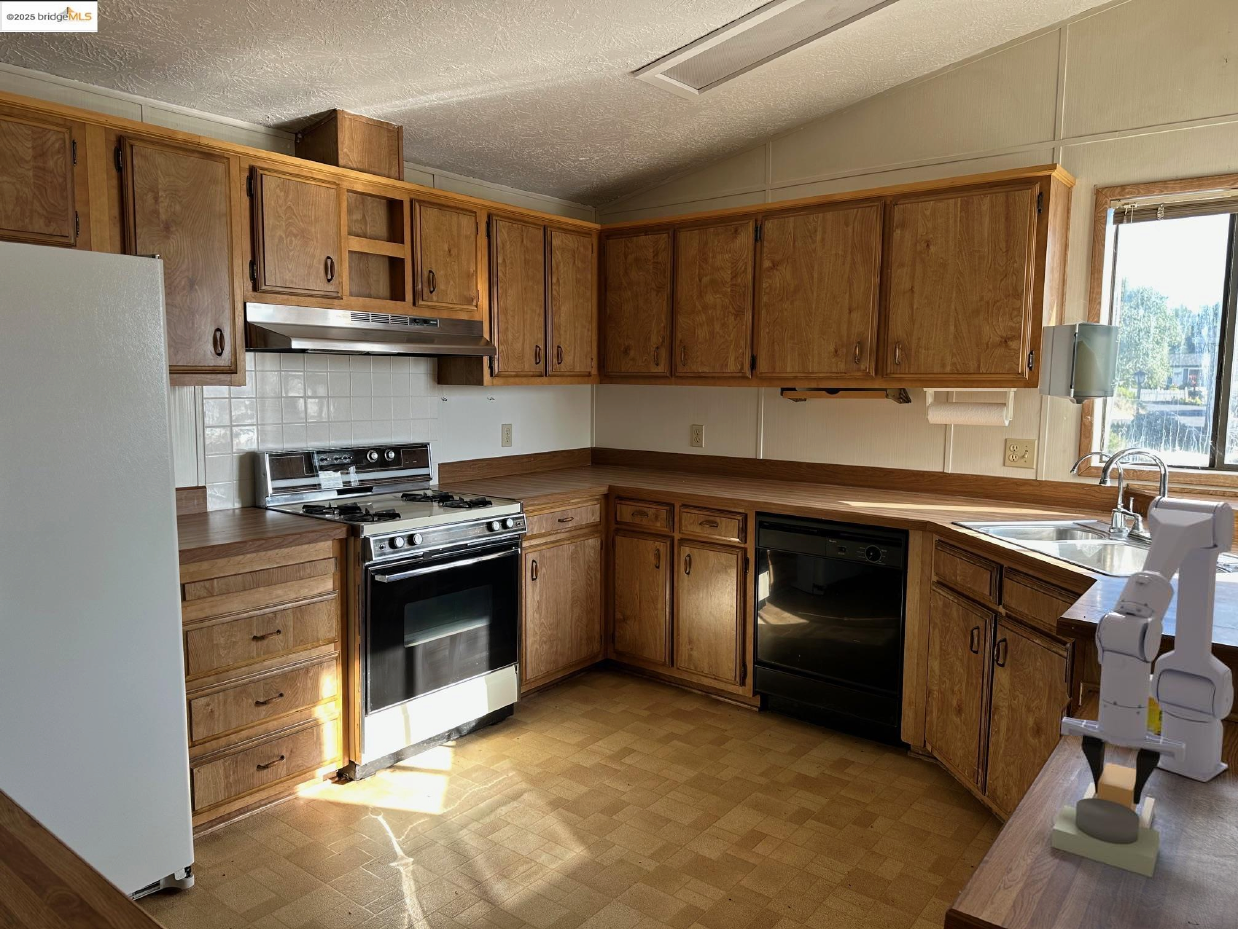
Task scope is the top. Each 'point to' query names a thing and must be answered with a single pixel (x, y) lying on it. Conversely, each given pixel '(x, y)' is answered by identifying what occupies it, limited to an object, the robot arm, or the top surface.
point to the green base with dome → (1109, 833)
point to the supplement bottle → (1153, 715)
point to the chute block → (1117, 785)
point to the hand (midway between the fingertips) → (1117, 796)
